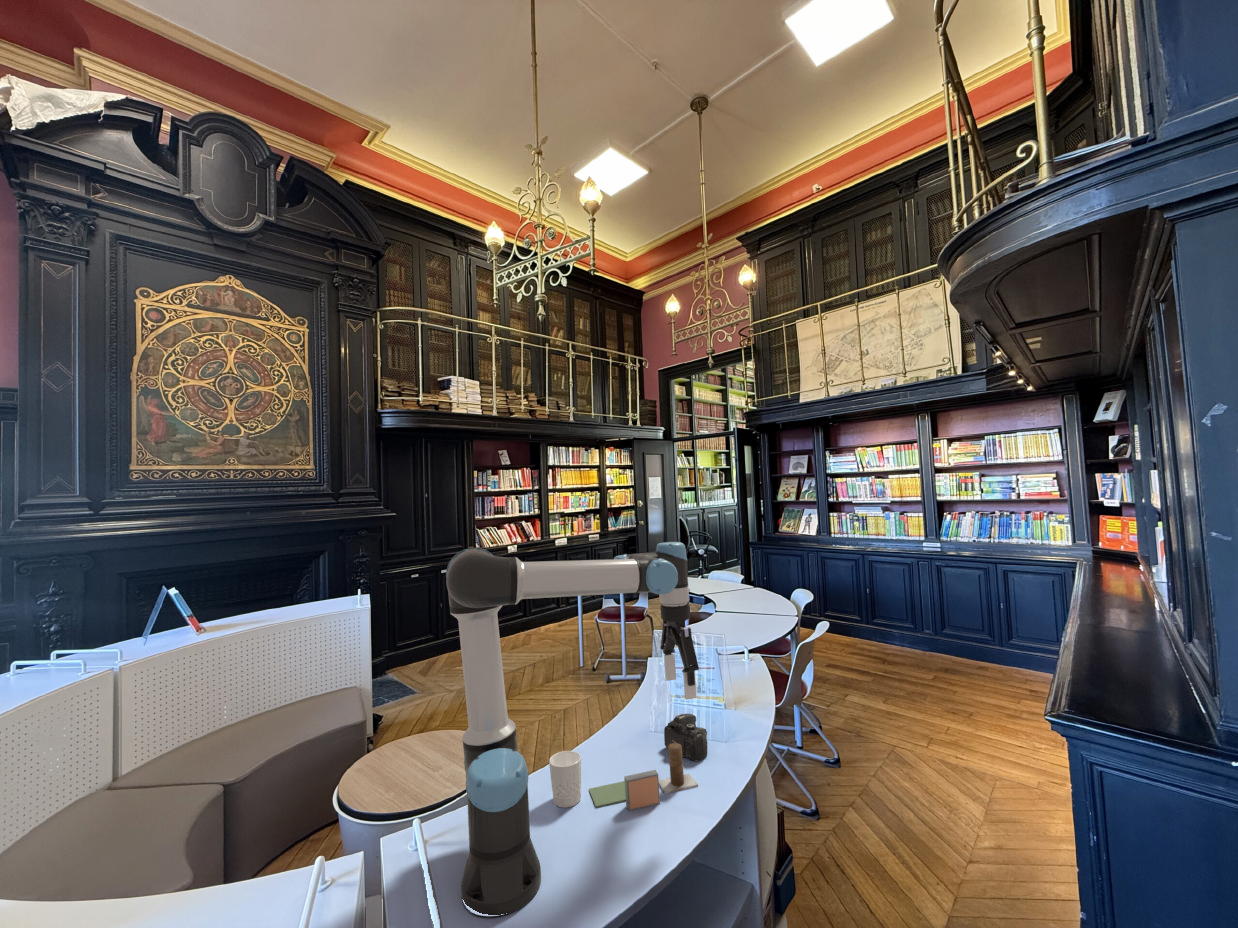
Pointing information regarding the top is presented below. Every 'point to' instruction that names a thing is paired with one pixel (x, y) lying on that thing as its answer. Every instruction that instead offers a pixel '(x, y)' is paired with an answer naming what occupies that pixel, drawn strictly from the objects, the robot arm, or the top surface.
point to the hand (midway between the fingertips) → (680, 688)
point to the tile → (642, 790)
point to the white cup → (566, 778)
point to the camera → (687, 736)
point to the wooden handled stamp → (676, 772)
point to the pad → (608, 794)
